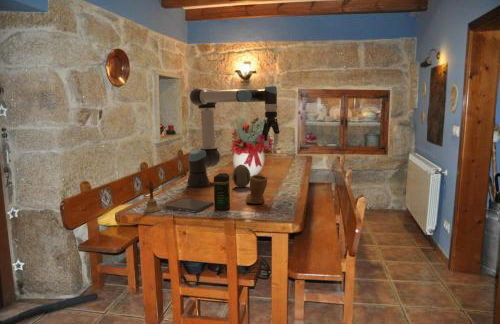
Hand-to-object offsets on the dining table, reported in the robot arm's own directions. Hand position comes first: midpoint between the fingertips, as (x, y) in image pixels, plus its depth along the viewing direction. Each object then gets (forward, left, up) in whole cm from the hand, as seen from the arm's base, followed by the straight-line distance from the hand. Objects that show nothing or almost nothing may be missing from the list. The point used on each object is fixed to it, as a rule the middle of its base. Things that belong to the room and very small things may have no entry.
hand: (271, 145), depth 242 cm
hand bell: (-37, -71, -28) cm, 85 cm away
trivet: (-23, -57, -28) cm, 68 cm away
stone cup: (+6, -34, -28) cm, 45 cm away
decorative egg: (-19, -5, -28) cm, 34 cm away
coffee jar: (-5, -53, -28) cm, 61 cm away
